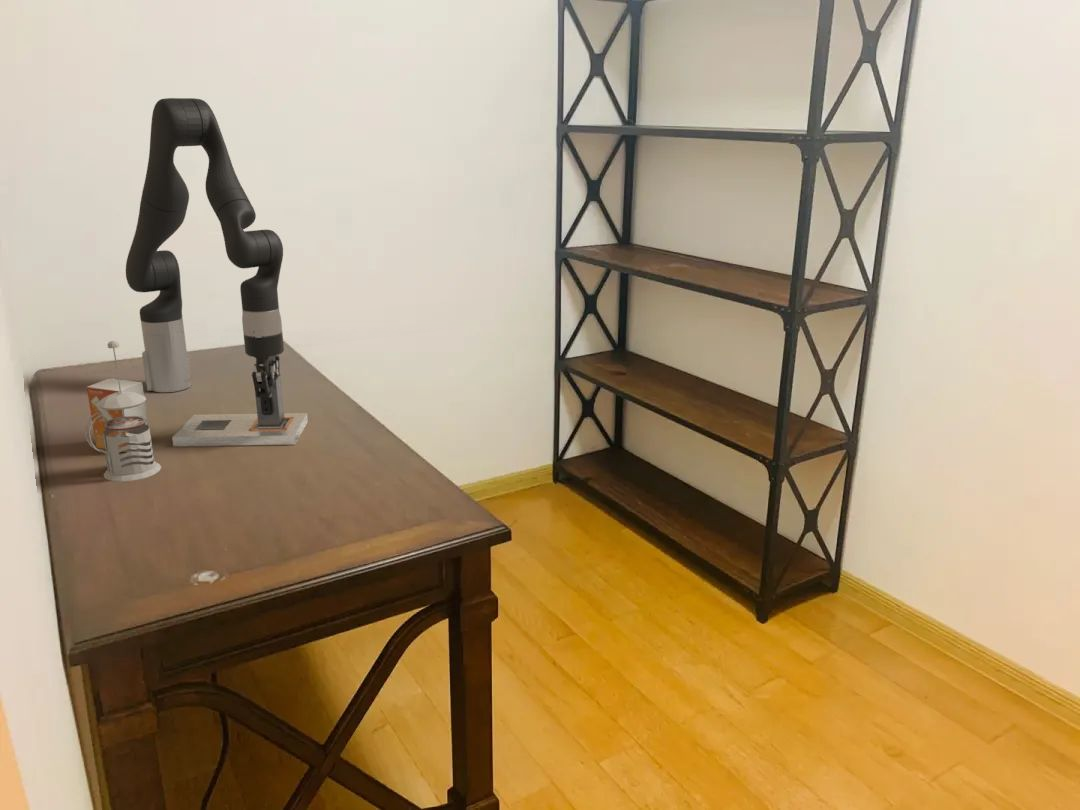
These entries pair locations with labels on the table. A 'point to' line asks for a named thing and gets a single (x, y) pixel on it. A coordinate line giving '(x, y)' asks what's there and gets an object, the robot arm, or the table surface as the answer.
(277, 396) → the block with round knob
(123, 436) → the french press
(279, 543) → the table surface
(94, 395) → the small box
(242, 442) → the rail plate
